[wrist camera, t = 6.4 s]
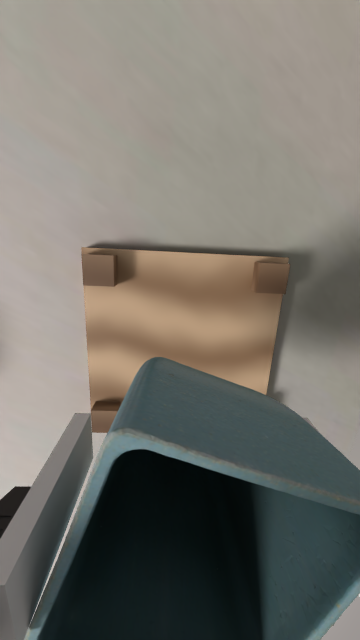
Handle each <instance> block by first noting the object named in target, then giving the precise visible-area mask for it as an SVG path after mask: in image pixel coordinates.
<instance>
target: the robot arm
mask: <svg viewBox="0 0 360 640" xmlns="http://www.w3.org/2000/svg"><path fill="white" fill-rule="evenodd" d="M303 419H304V420H305V421H307V422H308V423H309V424H310V425H311V426H312V427H313V428H314V429H316V428H315V427H314V426H313V424H312V423H311V422H310V421H309V419H308V418H303ZM316 430H317V429H316ZM317 431H318V430H317ZM92 459H93V447H92V430H91V414H90V413H75V414H74V416H73V418H72V419H71V421H70V423H69V424H68V426H67V428H66V429H65V431H64V433H63V435H62V436H61V438H60V440H59V441H58V443H57V445H56V446H55V448H54V450H53V451H52V453H51V455H50V456H49V458H48V460H47V461H46V463H45V465H44V466H43V468H42V470H41V471H40V473H39V475H38V476H37V478H36V480H35V481H34V483H33V485H32V487H14V488H13V489H12V490H11V491H10V492H9V493H8V494H6V495H5V496H4V497H3V498H2V499H1V500H0V640H24V638H25V635H26V633H27V630H28V628H29V625H30V622H31V620H32V617H33V614H34V612H35V609H36V607H37V604H38V601H39V599H40V596H41V593H42V591H43V588H44V585H45V583H46V580H47V578H48V575H49V572H50V570H51V567H52V564H53V562H54V559H55V557H56V554H57V551H58V549H59V546H60V543H61V541H62V538H63V536H64V533H65V530H66V528H67V525H68V522H69V520H70V517H71V514H72V512H73V509H74V507H75V504H76V501H77V499H78V496H79V493H80V491H81V488H82V486H83V483H84V480H85V478H86V475H87V472H88V470H89V467H90V464H91V462H92ZM358 596H359V598H360V594H359V595H358Z"/></svg>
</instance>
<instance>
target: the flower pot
mask: <svg viewBox="0 0 360 640" xmlns="http://www.w3.org/2000/svg"><path fill="white" fill-rule="evenodd" d="M359 594H360V470H359V469H358V468H357V467H356V466H354V465H353V464H352V463H351V462H350V461H349V460H348V459H347V458H346V457H345V456H344V455H343V454H342V453H341V452H339V451H338V450H337V449H336V448H335V447H334V446H333V445H332V444H331V443H330V442H329V441H328V440H326V439H325V438H324V437H323V436H322V435H321V434H320V433H319V432H318V431H317V430H316V429H314V428H313V427H312V426H311V425H310V424H309V423H308V422H307V421H305V420H304V419H303V418H302V417H301V416H299V415H298V414H297V413H295V412H294V411H293V410H291V409H290V408H288V407H287V406H285V405H283V404H282V403H280V402H278V401H277V400H275V399H273V398H271V397H269V396H267V395H265V394H262V393H260V392H258V391H255V390H253V389H250V388H247V387H244V386H241V385H238V384H236V383H233V382H230V381H227V380H225V379H222V378H219V377H216V376H214V375H211V374H208V373H205V372H202V371H200V370H197V369H194V368H191V367H189V366H186V365H183V364H180V363H178V362H175V361H173V360H170V359H167V358H163V357H154V358H151V359H149V360H147V361H146V362H145V363H144V364H143V365H142V366H141V367H140V369H139V370H138V372H137V374H136V375H135V377H134V379H133V381H132V383H131V385H130V387H129V389H128V391H127V393H126V395H125V397H124V400H123V402H122V404H121V406H120V408H119V410H118V412H117V414H116V416H115V418H114V421H113V423H112V425H111V427H110V429H109V431H108V433H107V435H106V437H105V439H104V441H103V443H102V445H101V448H100V450H99V452H98V455H97V457H96V460H95V463H94V466H93V469H92V471H91V474H90V476H89V479H88V482H87V485H86V488H85V490H84V492H83V495H82V497H81V501H80V503H79V506H78V508H77V511H76V513H75V516H74V519H73V521H72V524H71V526H70V529H69V532H68V534H67V536H66V539H65V542H64V544H63V547H62V549H61V552H60V554H59V557H58V559H57V562H56V564H55V566H54V569H53V571H52V574H51V576H50V578H49V581H48V583H47V585H46V588H45V590H44V592H43V595H42V597H41V600H40V602H39V605H38V607H37V610H36V612H35V614H34V617H33V619H32V621H31V624H30V626H29V628H28V630H27V633H26V635H25V638H24V640H320V639H321V638H322V637H323V636H324V635H325V634H326V633H327V631H328V630H329V628H330V627H331V626H333V625H334V623H335V622H336V620H337V619H338V618H339V617H340V616H341V614H342V613H343V612H344V611H345V609H346V608H347V607H348V606H349V605H350V604H351V603H352V602H353V600H354V599H355V598H356V597H357V596H358V595H359Z"/></svg>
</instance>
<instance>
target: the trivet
mask: <svg viewBox="0 0 360 640" xmlns="http://www.w3.org/2000/svg"><path fill="white" fill-rule="evenodd" d="M81 249H82V270H83V285H84V300H85V316H86V333H87V350H88V367H89V384H90V401H91V421H92V432H97V433H108V431H109V429H110V427H111V425H112V423H113V421H114V418H115V416H116V414H117V412H118V410H119V408H120V406H121V404H122V402H123V400H124V397H125V395H126V393H127V391H128V389H129V387H130V385H131V383H132V381H133V379H134V377H135V375H136V374H137V372H138V370H139V369H140V367H141V366H142V365H143V364H144V363H145V362H146V361H147V360H149V359H151V358H154V357H163V358H167V359H170V360H173V361H175V362H178V363H180V364H183V365H186V366H189V367H191V368H194V369H197V370H200V371H202V372H205V373H208V374H211V375H214V376H216V377H219V378H222V379H225V380H227V381H230V382H233V383H236V384H238V385H241V386H244V387H247V388H250V389H253V390H255V391H258V392H260V393H262V394H265V395H266V393H267V387H268V381H269V374H270V368H271V362H272V356H273V350H274V344H275V338H276V332H277V326H278V320H279V314H280V308H281V302H282V296H283V294H285V293H286V287H287V281H288V275H289V269H290V264H288V260H289V258H284V257H265V256H245V255H225V254H205V253H186V252H166V251H146V250H126V249H106V248H86V247H81Z"/></svg>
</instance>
